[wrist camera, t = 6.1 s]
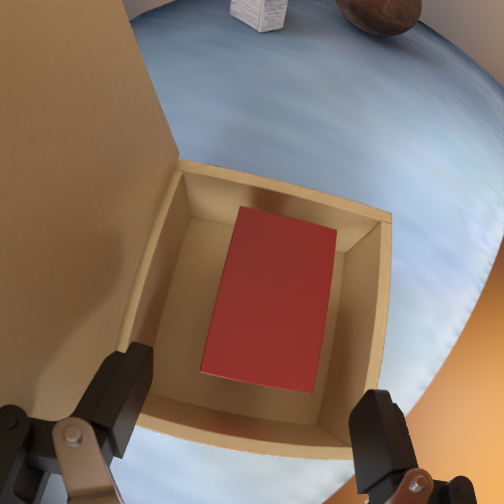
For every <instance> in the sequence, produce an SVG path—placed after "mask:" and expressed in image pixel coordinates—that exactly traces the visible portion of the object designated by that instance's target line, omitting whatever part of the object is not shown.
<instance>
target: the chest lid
mask: <svg viewBox="0 0 504 504" xmlns="http://www.w3.org/2000/svg"><path fill="white" fill-rule="evenodd" d="M178 157H179V151H178V148H177V146H176V143H175V141H174V138H173V136H172V133H171V131H170V128H169V126H168V123H167V121H166V118H165V115H164V113H163V110H162V108H161V105H160V103H159V100H158V97H157V95H156V92H155V90H154V87H153V84H152V82H151V79H150V77H149V74H148V71H147V69H146V66H145V63H144V61H143V58H142V55H141V52H140V50H139V47H138V44H137V42H136V39H135V36H134V33H133V31H132V28H131V25H130V22H129V20H128V17H127V14H126V11H125V8H124V5H123V2H122V0H0V407H2V406H4V405H8V404H12V405H17V406H19V407H21V408H22V409H23V410H24V411H25V412H26V413H27V415H28V417H32V418H37V419H42V420H48V421H59V420H61V419H63V418H66V417H68V416H70V415H71V414H72V413H73V411H74V410H75V408H76V406H77V405H78V403H79V401H80V399H81V398H82V396H83V394H84V392H85V391H86V389H87V387H88V385H89V384H90V382H91V380H93V377H94V375H95V374H96V372H97V371H98V369H99V367H100V365H101V364H102V362H103V360H104V359H105V358H106V357H107V356H108V355H110V354H111V353H113V352H114V349H115V345H116V341H117V337H118V333H119V329H120V325H121V321H122V318H123V314H124V310H125V307H126V303H127V300H128V296H129V293H130V289H131V286H132V283H133V279H134V276H135V273H136V270H137V266H138V263H139V260H140V257H141V254H142V251H143V248H144V245H145V242H146V239H147V236H148V234H149V231H150V228H151V225H152V222H153V220H154V217H155V214H156V211H157V209H158V206H159V203H160V201H161V198H162V196H163V193H164V191H165V188H166V186H167V183H168V181H169V178H170V176H171V173H172V171H173V168H174V166H175V164H176V161H177V159H178Z"/></svg>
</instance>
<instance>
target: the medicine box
mask: <svg viewBox="0 0 504 504" xmlns="http://www.w3.org/2000/svg"><path fill="white" fill-rule="evenodd" d="M287 4H288V0H231V7H230V15H232V16H234V17H235V18H237V19H239V20H240V21H242V22H244V23H245V24H247V25H249V26H250V27H252V28H253V29H255V30H257V31H258V32H259V33H261V32H266V31H271V30H276V29H281V28H283V24H284V18H285V14H286V9H287Z"/></svg>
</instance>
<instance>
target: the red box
mask: <svg viewBox="0 0 504 504" xmlns="http://www.w3.org/2000/svg"><path fill="white" fill-rule="evenodd" d="M336 238H337V230H336V229H333V228H329V227H325V226H321V225H317V224H313V223H310V222H306V221H302V220H298V219H294V218H290V217H286V216H282V215H278V214H274V213H270V212H265V211H261V210H257V209H253V208H249V207H244V206H240V207H239V210H238V214H237V218H236V222H235V226H234V230H233V234H232V237H231V241H230V245H229V249H228V253H227V257H226V261H225V265H224V269H223V273H222V277H221V281H220V285H219V289H218V294H217V298H216V302H215V306H214V310H213V314H212V318H211V323H210V327H209V331H208V335H207V340H206V344H205V348H204V352H203V357H202V361H201V366H200V370H199V371H200V372H201V373H205V374H209V375H213V376H217V377H222V378H226V379H231V380H236V381H241V382H246V383H251V384H256V385H261V386H267V387H273V388H279V389H285V390H292V391H299V392H306V393H312V392H313V388H314V384H315V379H316V374H317V368H318V363H319V358H320V352H321V347H322V341H323V335H324V329H325V323H326V317H327V310H328V303H329V296H330V289H331V282H332V274H333V266H334V257H335V248H336Z"/></svg>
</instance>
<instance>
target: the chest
mask: <svg viewBox="0 0 504 504" xmlns="http://www.w3.org/2000/svg"><path fill="white" fill-rule="evenodd" d="M240 206H244V207H249V208H253V209H257V210H261V211H265V212H270V213H274V214H278V215H282V216H286V217H290V218H294V219H298V220H302V221H306V222H310V223H313V224H317V225H321V226H325V227H329V228H333V229H336V230H337V238H336V248H335V257H334V266H333V274H332V282H331V289H330V296H329V303H328V310H327V317H326V323H325V329H324V335H323V341H322V347H321V352H320V358H319V363H318V368H317V374H316V379H315V384H314V388H313V392H312V393H306V392H299V391H292V390H285V389H279V388H273V387H267V386H261V385H256V384H251V383H246V382H241V381H236V380H231V379H226V378H222V377H217V376H213V375H209V374H205V373H201V372H200V371H199V370H200V366H201V361H202V357H203V352H204V348H205V344H206V340H207V335H208V331H209V327H210V323H211V318H212V314H213V310H214V306H215V302H216V298H217V294H218V289H219V285H220V281H221V277H222V273H223V269H224V265H225V261H226V257H227V253H228V249H229V245H230V241H231V237H232V234H233V230H234V226H235V222H236V218H237V214H238V210H239V207H240ZM391 252H392V213H390V212H386V211H383V210H380V209H377V208H374V207H371V206H368V205H364V204H361V203H358V202H355V201H351V200H348V199H345V198H341V197H338V196H334V195H331V194H327V193H324V192H320V191H316V190H313V189H309V188H305V187H302V186H298V185H294V184H290V183H286V182H282V181H278V180H274V179H270V178H266V177H262V176H257V175H253V174H249V173H244V172H240V171H235V170H231V169H226V168H221V167H217V166H212V165H207V164H202V163H197V162H192V161H186V160H181V159H177V161H176V164H175V166H174V168H173V171H172V173H171V176H170V178H169V181H168V183H167V186H166V188H165V191H164V193H163V196H162V198H161V201H160V203H159V206H158V209H157V211H156V214H155V217H154V220H153V222H152V225H151V228H150V231H149V234H148V236H147V239H146V242H145V245H144V248H143V251H142V254H141V257H140V260H139V263H138V266H137V270H136V273H135V276H134V279H133V283H132V286H131V289H130V293H129V296H128V300H127V303H126V307H125V310H124V314H123V318H122V321H121V325H120V329H119V333H118V337H117V341H116V345H115V349H114V351H116V350H117V351H120V352H123V353H125V352H126V350H127V349H128V347H129V345H130V343H131V342H132V341H135V342H139V343H142V344H145V345H148V346H151V347H153V380H152V384H151V387H150V390H149V392H148V395H147V397H146V400H145V402H144V405H143V407H142V409H141V412H140V414H139V417H138V419H137V422H136V424H135V425H137V426H140V427H143V428H146V429H149V430H152V431H155V432H159V433H162V434H166V435H169V436H173V437H176V438H180V439H184V440H188V441H192V442H196V443H201V444H205V445H210V446H215V447H219V448H225V449H230V450H236V451H242V452H248V453H255V454H262V455H270V456H279V457H290V458H303V459H323V460H353V453H352V446H351V439H350V433H349V426H348V420H349V416H350V413H351V411H352V410H353V408H354V407H355V406H356V404H357V403H358V402H359V400H360V399H361V398H362V396H363V395H364V394H365V392H366V391H367V390H368V389H377V386H378V380H379V375H380V369H381V362H382V356H383V349H384V341H385V333H386V324H387V315H388V304H389V291H390V276H391Z"/></svg>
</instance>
